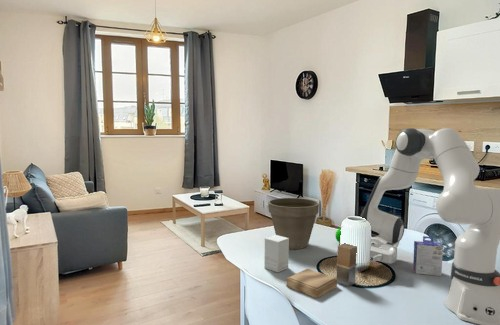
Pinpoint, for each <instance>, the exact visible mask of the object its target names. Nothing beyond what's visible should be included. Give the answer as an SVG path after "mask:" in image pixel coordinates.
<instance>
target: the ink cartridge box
mask: <svg viewBox="0 0 500 325" xmlns="http://www.w3.org/2000/svg"><path fill="white" fill-rule="evenodd" d="M443 255H444V246H443V244H441V243H440V242H437V241H436V242H435V241H434V238H433V236H425V235H423V236H422V241H418V240H417V241H416V240H414V241H413V261H412V262H413V264H412V270H413V273H414V274H416V275H428V276H429V275H430V276H438V277H441V276H442V270H443Z"/></svg>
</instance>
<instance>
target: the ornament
mask: <svg viewBox="0 0 500 325" xmlns="http://www.w3.org/2000/svg"><path fill="white" fill-rule="evenodd" d="M341 228H342V227H340V228H338V229H337V230H336V232H335V239H336V241H337V242H338V243H339V244H341V243H340V235H341V231H340V230H341Z"/></svg>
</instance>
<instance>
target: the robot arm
mask: <svg viewBox="0 0 500 325" xmlns="http://www.w3.org/2000/svg"><path fill="white" fill-rule="evenodd" d="M395 147H396V148H395V150H394V153H393V155H392V158H391V161H390V164H389V168H388V170H387V172H386V173H385V174H381V175H380V176H379V177H378V179H377V181H375V184H374V186H373V188H372V191H371V193H370V195H369V198H368V200H367V202H366V204H365V206H364V209H362V211H361V214H360V217H362V218H365V219H366V220H367V221H368V222H369V223H370V224H371V230H370V231H373V232H375V233H377V234H378V235H377V236H374V237H371V238H370V239H371V249H370V258H369V259H370V261H371V262H382V263H387V264H393V263H395V262H396V261H397V256H398V247H399V246H400V241H401V240H402V238H403V236H404V235H405V234H404V233H405V227H406V226H405V224H404V221H403V219H402V218H401V217H399V216H396V215H394V214H392V213H391V214H390V213H388V212H385V211H382V210H380V209H379V207H378V206H379V204H380V202H381V200H382V197H383V195H384V193H385V192H386V191H392V190H393V191H394V190H395V191H396V190H404V189H408V188H410V187H412V186H413V185H414V184H415V183H416V181H417V178H418V175H419V169H420V166H421V163H422V161H423V160H425V159H429V160H434V161H435V164H436V166H437V168H438V170H439V173H440V175H441V178H442V180H443V189H442V191H441V193H440V194H439V195H438V197H437V199H436V202H435V210H436V212H437V214H438V216H439V217H440V219H441V220H442V221H444V222H447V223H451V224H456V225H463V226H464V225H465V226H466V225H469V226H468V227H467V229H466V230H465V231H464V232H463V233H461V234H460V235H458V237H457V238H456V239H455V242H454V253H453V255H454V256H453V262H452V263H451V267H450V268H451V269H450V276H451V277H450V279H451V282H450V288H449V290H448V291H449V292H448V295H447V297H446V299H445V301H444V304H445V307H446V308H447V309H448V310H450V311H451V312H453V314H455V315H456V316H457V317H458V319H460V320H462V321H466V322H467V323H473V324H476V325H500V272H499V271H498V270H496V263H497V262H496V261H497V254H498V248H499V245H500V189H499V188H478V187H477V186H476V185H475V182H474V180H476V179H477V178H478V176H479V173H480V166H479V163H478V161H477V160H476V159H475V157H474V156H475V155H473V153H472V151H471V149H470V148H469V146H468V144H467V143H466V141H465V140H464V139H463V137H462V136H461V135H460V134H459V133H458V132H457V131H456V130H455V129H453V128H449V127H448V128H446V127H445V128H440V129H438V130H432V129H427V128H411V127H410V128H409V127H408V128H405V129H402V130H400V131H399V133H397V135H396V137H395ZM360 217H359V218H360Z"/></svg>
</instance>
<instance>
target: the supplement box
mask: <svg viewBox="0 0 500 325" xmlns="http://www.w3.org/2000/svg"><path fill="white" fill-rule="evenodd" d="M289 254H290V249H289V238H286V237H282V236H278V235H276V234H273V235H271V236H268V237H265V238H264V265H263V266H264V269H266V270H270V271H273V272H275V273H280V272H283V271H284V270H287V269H289V264H290V262H289V259H290V256H289Z"/></svg>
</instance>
